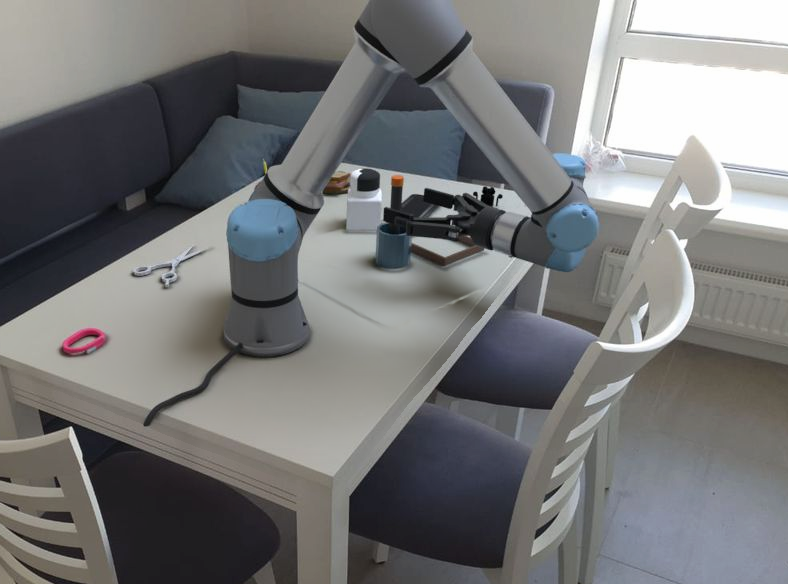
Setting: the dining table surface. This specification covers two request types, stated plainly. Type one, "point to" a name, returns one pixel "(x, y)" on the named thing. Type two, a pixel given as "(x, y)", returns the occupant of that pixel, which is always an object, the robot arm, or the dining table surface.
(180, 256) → the scissors
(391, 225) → the marker
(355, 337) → the dining table surface
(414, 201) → the phone
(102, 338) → the fitness band
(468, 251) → the tray
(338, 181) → the toy sandwich meal
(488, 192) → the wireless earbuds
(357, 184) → the container
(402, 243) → the pen cup
